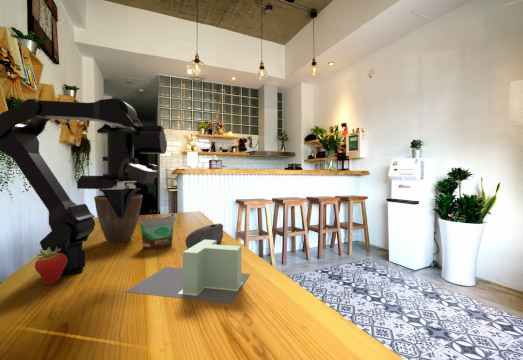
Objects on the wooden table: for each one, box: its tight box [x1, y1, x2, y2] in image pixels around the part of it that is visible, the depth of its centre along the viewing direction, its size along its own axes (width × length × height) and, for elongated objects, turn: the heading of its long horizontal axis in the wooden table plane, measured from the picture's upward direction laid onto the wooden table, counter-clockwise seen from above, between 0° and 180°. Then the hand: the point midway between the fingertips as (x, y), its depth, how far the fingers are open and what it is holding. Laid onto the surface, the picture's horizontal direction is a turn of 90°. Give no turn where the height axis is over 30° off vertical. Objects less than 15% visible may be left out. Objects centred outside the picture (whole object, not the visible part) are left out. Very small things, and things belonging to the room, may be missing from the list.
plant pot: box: [93, 193, 143, 244], centre depth 89 cm, size 15×15×16 cm
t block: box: [182, 240, 242, 294], centre depth 53 cm, size 10×10×8 cm
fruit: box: [34, 246, 67, 285], centre depth 54 cm, size 5×5×8 cm
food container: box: [138, 213, 177, 250], centre depth 82 cm, size 12×6×10 cm, turn 143°
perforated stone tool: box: [185, 223, 224, 249], centre depth 82 cm, size 15×5×7 cm, turn 139°
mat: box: [124, 266, 251, 305], centre depth 54 cm, size 22×14×1 cm, turn 79°
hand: (120, 217), depth 61 cm, fingers closed
